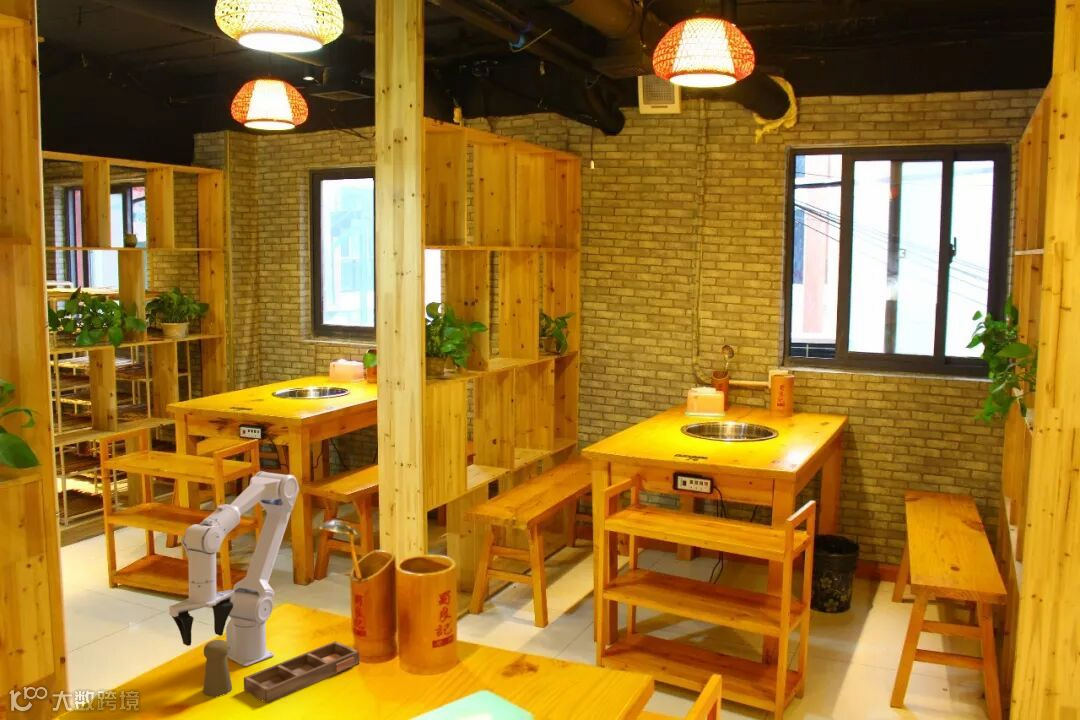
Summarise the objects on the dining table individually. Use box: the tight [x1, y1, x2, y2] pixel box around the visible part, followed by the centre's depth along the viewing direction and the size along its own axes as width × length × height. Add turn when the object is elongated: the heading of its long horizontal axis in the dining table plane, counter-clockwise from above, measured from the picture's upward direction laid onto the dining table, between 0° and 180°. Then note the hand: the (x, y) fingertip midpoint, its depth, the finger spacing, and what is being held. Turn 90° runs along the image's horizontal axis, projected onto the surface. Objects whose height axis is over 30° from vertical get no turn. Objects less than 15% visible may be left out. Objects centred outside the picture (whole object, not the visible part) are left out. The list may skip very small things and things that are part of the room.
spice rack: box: [243, 641, 360, 704], centre depth 204 cm, size 9×25×3 cm, turn 141°
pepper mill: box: [202, 639, 233, 698], centre depth 197 cm, size 6×6×11 cm
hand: (203, 639), depth 199 cm, fingers open, 7 cm apart
